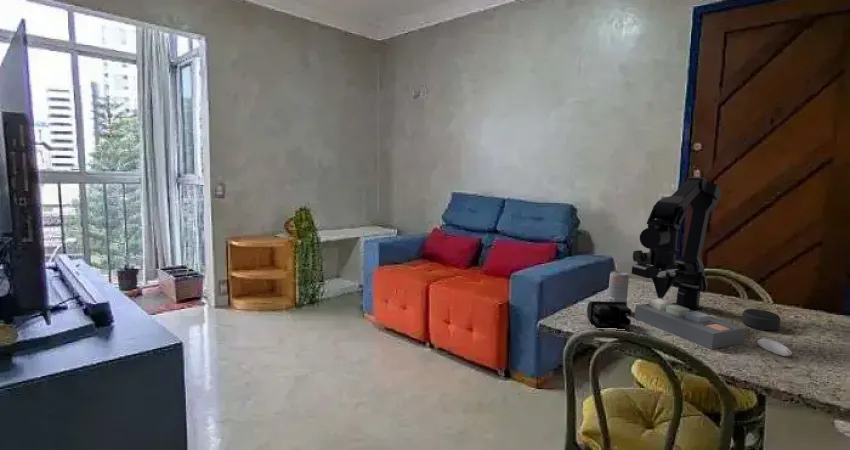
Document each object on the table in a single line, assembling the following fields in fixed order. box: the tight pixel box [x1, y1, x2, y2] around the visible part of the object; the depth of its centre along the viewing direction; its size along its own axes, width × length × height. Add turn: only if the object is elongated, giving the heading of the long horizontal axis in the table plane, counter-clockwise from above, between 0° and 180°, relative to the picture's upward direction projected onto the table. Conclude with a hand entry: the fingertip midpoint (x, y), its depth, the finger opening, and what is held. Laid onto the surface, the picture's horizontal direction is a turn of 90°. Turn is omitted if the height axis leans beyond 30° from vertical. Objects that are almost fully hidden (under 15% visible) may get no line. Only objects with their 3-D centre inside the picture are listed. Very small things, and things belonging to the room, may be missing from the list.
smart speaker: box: [741, 308, 781, 332], centre depth 136 cm, size 9×9×4 cm
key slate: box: [685, 310, 710, 324], centre depth 128 cm, size 4×4×2 cm
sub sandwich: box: [756, 337, 793, 357], centre depth 118 cm, size 3×8×3 cm, turn 14°
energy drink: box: [607, 270, 630, 303], centre depth 145 cm, size 5×5×12 cm
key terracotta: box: [706, 324, 731, 331], centre depth 123 cm, size 4×4×2 cm
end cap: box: [586, 300, 633, 331], centre depth 133 cm, size 10×7×7 cm
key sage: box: [666, 305, 689, 316], centre depth 134 cm, size 4×4×2 cm
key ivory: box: [648, 298, 671, 310], centre depth 139 cm, size 4×4×2 cm
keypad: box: [634, 302, 746, 350], centre depth 131 cm, size 12×24×4 cm, turn 23°
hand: (660, 298), depth 139 cm, fingers closed
